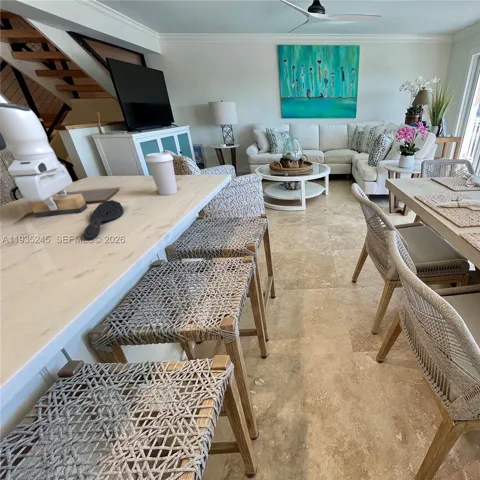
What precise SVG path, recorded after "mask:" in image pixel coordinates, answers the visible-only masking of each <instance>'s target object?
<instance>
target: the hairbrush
mask: <svg viewBox="0 0 480 480" xmlns="http://www.w3.org/2000/svg"><path fill="white" fill-rule="evenodd" d="M94 204H95V206H96V207H95V206H93V207H92V209H90V210H91V211H90V212H91V213H89V218H90V221H91V222H90V223H89V224H88V225H87V226H86V227H85V228H84V231H83V237H84V239H85V240H87V241H93V240H95V239H96V238H97V237H98V236H99V235H100V232H101V225H102V223H103V222H108V221H113V220H117V219H119V218H121V217H122V216H123V215H124V208H123V205H122V204H121V202H119V201H117V200H114V199H109V200H108V201H104V202H103V203H99V204H98V205H97V203H94Z"/></svg>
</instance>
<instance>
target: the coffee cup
mask: <svg viewBox="0 0 480 480" xmlns="http://www.w3.org/2000/svg"><path fill="white" fill-rule="evenodd" d="M173 160H174V157H173V156H172V155H171V153H170V152H152V153H147V154H146V155H145V158H144V162H145V163H146V164H147V166H148V169H149V172H150V174H151V176H152V178H153V181H154V184H155V187H156V190H157V191H158V193H159V195H160V196H171V195H175V194H177V193H178V187H177V179H176V174H175V168H174V161H173Z"/></svg>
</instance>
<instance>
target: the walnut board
mask: <svg viewBox="0 0 480 480" xmlns="http://www.w3.org/2000/svg"><path fill="white" fill-rule="evenodd" d="M119 191H120V187H113V188H101V189H100V188H99V189H87V190H75V191H66V194H67V195H73V194H82V196H83V198H84V201H85V203H86V205H91V204H100V203H103V202H104V201H110V200H111V199H112V198H113V196H115V195H116V194H117V193H118V192H119Z"/></svg>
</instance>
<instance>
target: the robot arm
mask: <svg viewBox="0 0 480 480" xmlns="http://www.w3.org/2000/svg"><path fill="white" fill-rule="evenodd" d="M10 152H11V155H12V157H13V159H14V160H13V161H12V163H11V164H10V166H8V168H7V171H8V173H9V175H10V176H12V177H14V182H15V184H16V186H17V188H18V190H19V191H20V194H21V196H22V197H23V198H24V199H25V200H26V201H27V202H37V201H43V202H44V203H45V204H46V205H48V207H49V209H50V210H57V209H58V208H59V207H58V205H57V203H54V201H53V200H52V199H53V198H52V196H55V195H56V194H57V196H61V195H67V194H66V192H67V188H69V187H71V186H72V185H73V179H72V177H71V175H70V173H69V171H68V169H67V168H66V166H65V164H62V163H61V161H59V159H58V157H57V155H56V153H55V151H54V149H53V148H52V147H51V146H50V144H49V140H48V136H47V133H46V131H45V129H44V127H43V125H42V123H41V121H40V120H39V118H38V116H37V115H36V113H35V112H34V111H33V110H32V109H31V108H30V107H27V106H26V105H22V104H18V103H12V102H11V101H10V100H9V99H8V98H7V97H6V96H5V95H4V94H3V93H2V92H1V91H0V154H2V153H10Z"/></svg>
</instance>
